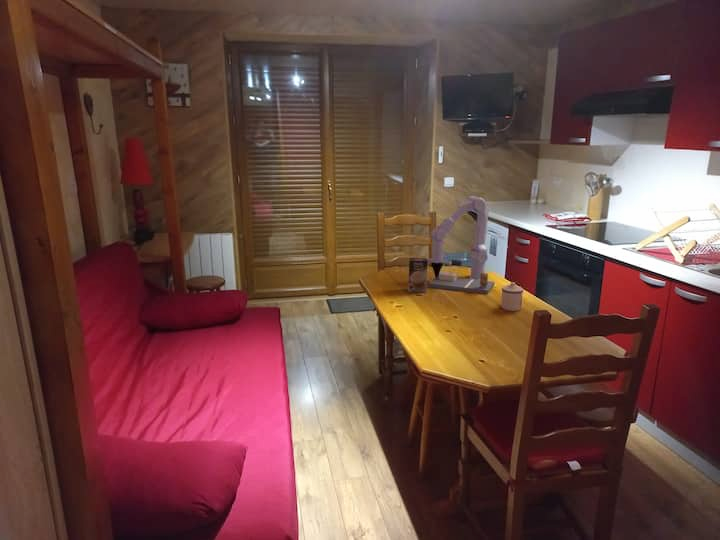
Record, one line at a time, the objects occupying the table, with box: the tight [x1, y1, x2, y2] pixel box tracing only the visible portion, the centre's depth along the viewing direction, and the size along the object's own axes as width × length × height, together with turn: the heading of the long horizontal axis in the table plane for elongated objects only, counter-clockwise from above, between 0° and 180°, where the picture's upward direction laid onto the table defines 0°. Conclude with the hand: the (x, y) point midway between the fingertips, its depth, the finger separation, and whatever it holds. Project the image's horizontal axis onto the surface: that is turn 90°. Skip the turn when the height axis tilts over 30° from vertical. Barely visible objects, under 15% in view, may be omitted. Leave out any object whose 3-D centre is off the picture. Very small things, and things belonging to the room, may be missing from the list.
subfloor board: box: [427, 276, 495, 295], centre depth 251 cm, size 16×30×2 cm, turn 64°
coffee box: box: [407, 257, 428, 293], centre depth 243 cm, size 9×6×16 cm
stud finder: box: [439, 271, 458, 281], centre depth 256 cm, size 5×8×3 cm, turn 64°
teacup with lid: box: [500, 281, 524, 312], centre depth 218 cm, size 12×9×12 cm
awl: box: [480, 272, 489, 288], centre depth 241 cm, size 4×4×7 cm
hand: (436, 276), depth 259 cm, fingers closed
